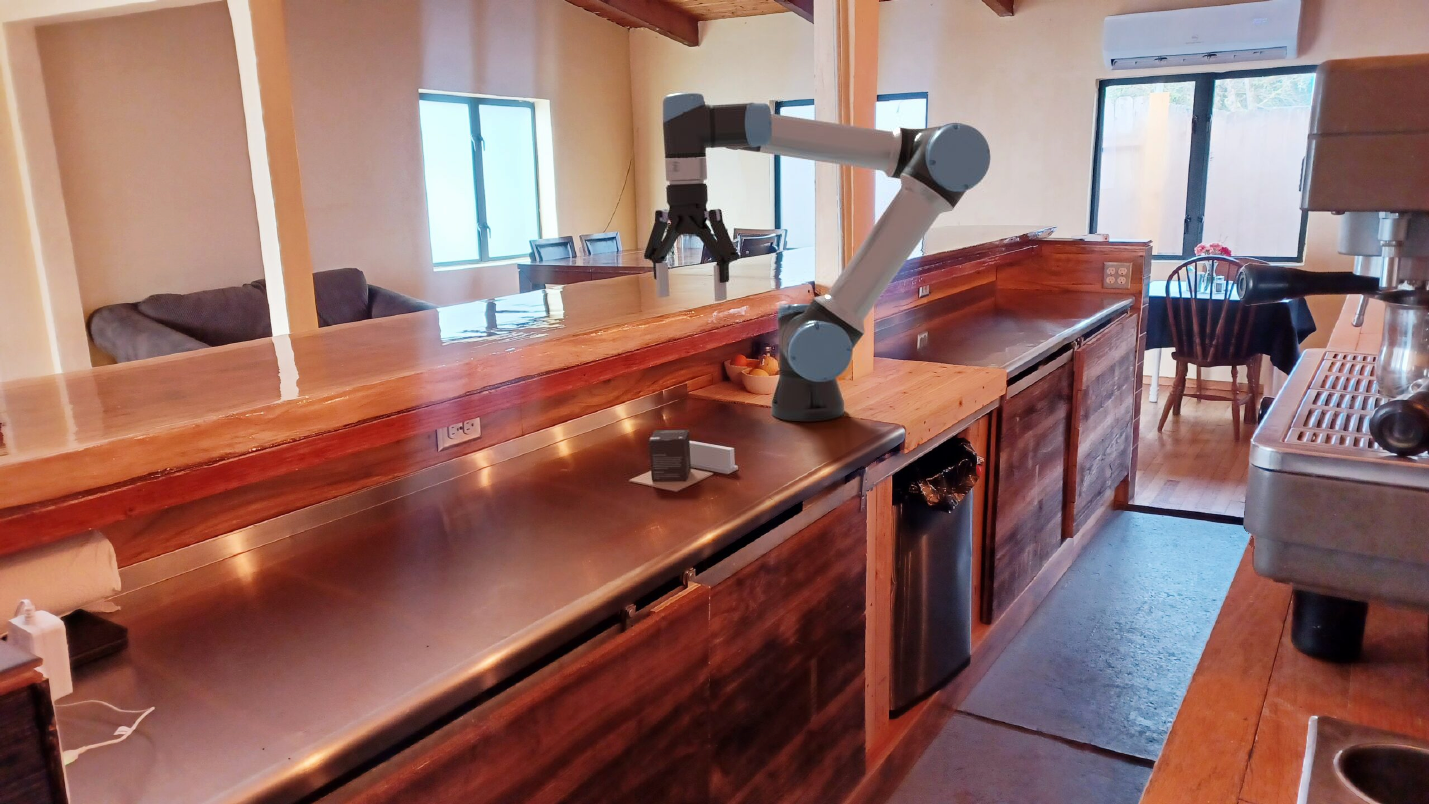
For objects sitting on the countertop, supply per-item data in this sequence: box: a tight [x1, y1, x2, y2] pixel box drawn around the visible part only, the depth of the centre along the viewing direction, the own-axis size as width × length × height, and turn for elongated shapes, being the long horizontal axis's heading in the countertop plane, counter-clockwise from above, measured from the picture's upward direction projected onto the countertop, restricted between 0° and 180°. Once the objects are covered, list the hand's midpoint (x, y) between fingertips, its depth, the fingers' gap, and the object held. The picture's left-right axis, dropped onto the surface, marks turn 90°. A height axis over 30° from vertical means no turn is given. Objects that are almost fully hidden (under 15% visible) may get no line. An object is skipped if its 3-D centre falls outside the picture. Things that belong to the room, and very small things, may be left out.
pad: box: [628, 468, 714, 492], centre depth 159 cm, size 10×10×1 cm
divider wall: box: [689, 440, 739, 475], centre depth 164 cm, size 3×13×4 cm, turn 54°
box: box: [648, 429, 692, 481], centre depth 158 cm, size 6×6×7 cm
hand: (691, 298), depth 177 cm, fingers open, 13 cm apart
